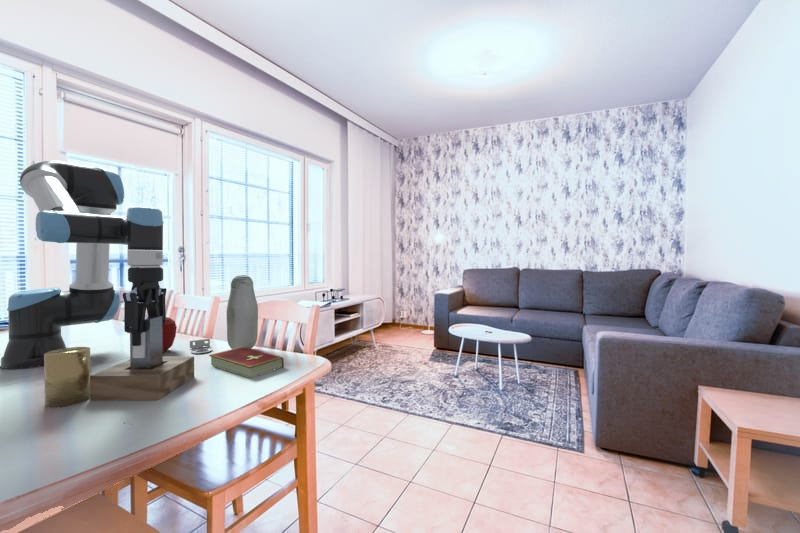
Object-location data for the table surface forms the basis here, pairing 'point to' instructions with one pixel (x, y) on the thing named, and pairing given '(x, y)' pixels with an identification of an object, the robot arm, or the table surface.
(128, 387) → the socket block
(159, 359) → the square bit
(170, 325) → the apple
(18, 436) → the table surface
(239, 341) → the grey rounded tall shape
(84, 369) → the round bit
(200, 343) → the bracket
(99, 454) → the table surface
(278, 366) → the hardcover book
